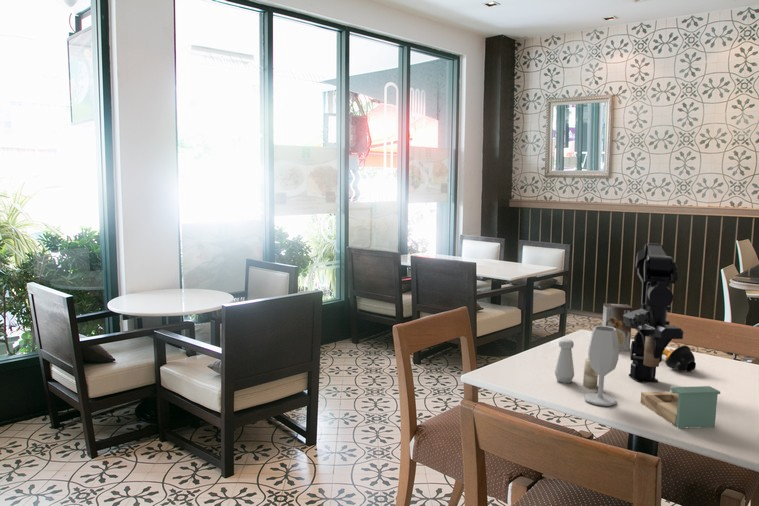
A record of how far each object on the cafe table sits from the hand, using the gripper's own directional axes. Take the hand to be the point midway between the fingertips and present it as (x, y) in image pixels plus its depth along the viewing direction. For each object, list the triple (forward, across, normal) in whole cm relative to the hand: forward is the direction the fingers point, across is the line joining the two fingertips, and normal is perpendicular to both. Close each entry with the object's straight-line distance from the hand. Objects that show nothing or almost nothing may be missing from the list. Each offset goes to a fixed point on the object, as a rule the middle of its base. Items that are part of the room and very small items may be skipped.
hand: (652, 356), depth 169 cm
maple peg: (+13, -13, -12) cm, 21 cm away
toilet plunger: (+12, -31, +26) cm, 42 cm away
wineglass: (+13, 0, -14) cm, 19 cm away
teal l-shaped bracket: (+13, +16, +2) cm, 21 cm away
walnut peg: (+2, 0, 0) cm, 3 cm away
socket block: (+13, +9, +2) cm, 16 cm away
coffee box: (+12, -52, +16) cm, 56 cm away
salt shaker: (+13, -17, -18) cm, 28 cm away
